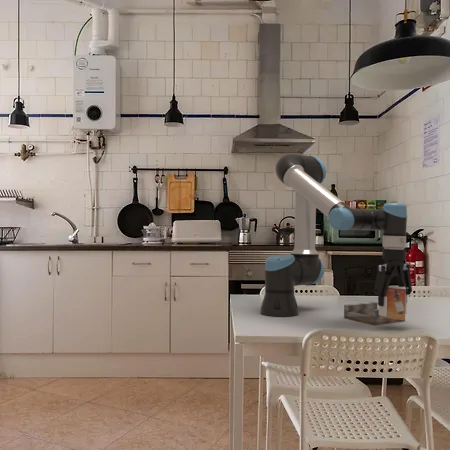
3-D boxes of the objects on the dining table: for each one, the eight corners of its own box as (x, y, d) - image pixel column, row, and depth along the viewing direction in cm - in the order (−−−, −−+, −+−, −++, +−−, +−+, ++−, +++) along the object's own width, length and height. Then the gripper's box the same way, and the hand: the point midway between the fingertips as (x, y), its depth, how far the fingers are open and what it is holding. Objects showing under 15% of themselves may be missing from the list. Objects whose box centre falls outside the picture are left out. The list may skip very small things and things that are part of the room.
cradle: (374, 325, 159) (374, 311, 159) (344, 318, 172) (344, 304, 172) (405, 320, 167) (405, 307, 167) (373, 314, 180) (373, 301, 180)
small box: (379, 317, 152) (380, 286, 152) (380, 314, 158) (381, 284, 158) (405, 320, 150) (406, 288, 149) (405, 317, 155) (405, 286, 155)
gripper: (380, 249, 145) (378, 319, 145) (424, 248, 156) (423, 313, 156) (362, 248, 151) (361, 314, 151) (406, 247, 162) (404, 309, 162)
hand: (392, 314), depth 154 cm, fingers closed on small box, 9 cm apart
